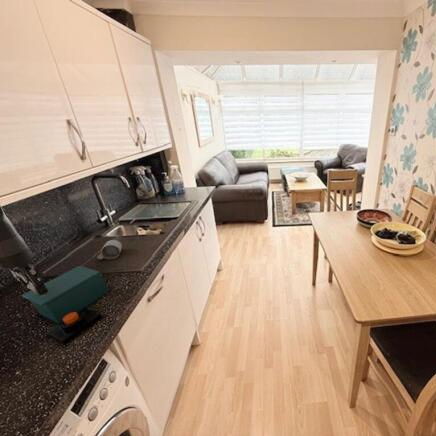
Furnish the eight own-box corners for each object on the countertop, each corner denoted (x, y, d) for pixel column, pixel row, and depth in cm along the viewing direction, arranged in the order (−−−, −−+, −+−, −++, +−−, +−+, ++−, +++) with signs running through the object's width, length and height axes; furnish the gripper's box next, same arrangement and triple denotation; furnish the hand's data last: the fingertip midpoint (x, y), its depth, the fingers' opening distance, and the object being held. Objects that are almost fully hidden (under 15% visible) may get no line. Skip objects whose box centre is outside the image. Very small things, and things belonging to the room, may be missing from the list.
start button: (69, 325, 77) (66, 322, 76) (62, 322, 78) (60, 319, 77) (81, 317, 80) (79, 313, 79) (75, 314, 81) (72, 310, 80)
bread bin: (59, 324, 82) (46, 304, 78) (40, 314, 86) (26, 295, 83) (109, 291, 96) (100, 273, 92) (89, 284, 100) (80, 267, 96)
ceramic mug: (124, 248, 125) (118, 236, 122) (122, 256, 118) (116, 243, 115) (100, 255, 121) (93, 242, 118) (97, 263, 114) (90, 250, 111)
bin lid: (42, 306, 77) (34, 293, 75) (22, 296, 82) (14, 285, 80) (100, 273, 92) (94, 262, 89) (80, 267, 96) (74, 256, 94)
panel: (65, 344, 74) (59, 337, 72) (49, 336, 77) (43, 328, 76) (101, 317, 83) (97, 310, 82) (86, 311, 86) (81, 304, 85)
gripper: (-18, 252, 73) (12, 293, 80) (4, 261, 68) (34, 303, 74) (15, 240, 79) (40, 279, 86) (37, 247, 74) (62, 288, 81)
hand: (37, 290), depth 80 cm, fingers open, 8 cm apart
